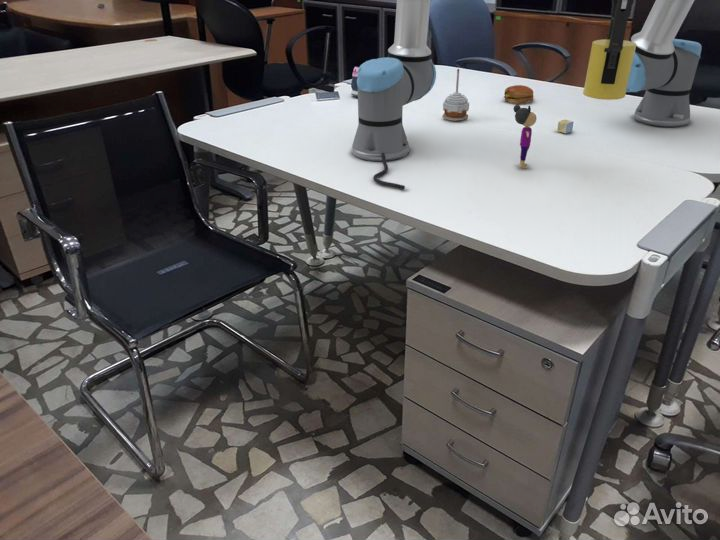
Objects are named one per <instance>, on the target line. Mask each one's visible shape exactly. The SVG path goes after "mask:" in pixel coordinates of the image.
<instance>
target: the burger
mask: <svg viewBox="0 0 720 540" xmlns="http://www.w3.org/2000/svg"><path fill="white" fill-rule="evenodd" d="M503 98H504V100H505V101H507V103H509V104H514V105H515V104H516V105H521V104H525V103H531V102H534V90H533V89H532V88H531V87H530V86H527V85H523V84H520V85H519V84H517V85H511V86H510V85H509V86H508V87H506V88H505V89H504V96H503Z"/></svg>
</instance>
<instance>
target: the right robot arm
mask: <svg viewBox="0 0 720 540" xmlns="http://www.w3.org/2000/svg"><path fill="white" fill-rule="evenodd" d="M694 2H695V0H655V1H654V3H653V6H652V7H651V10H650V11H649V14H648V16H647V18H646V20H645V22H644V24H643V26H642V28H641V30H640V31H639V32H636V33H634V34H633V35H632V36H631V37H630V39H629V41H631V42H634V43H636V48H635V53H634V58H633V62H632V67H631V71H630V76H629V80H628V85H627V89H626V93H638V92H641V91H645V90H646V91H645V93H644V95H643V97H642V98H641V100H640V102H639V104H638V105H637V107H636V108H635V111H634V114H633V119H634V120H635V121H637V122H639V123H642V124H645V125H648V126H649V125H650V126H654V127H662V128H663V127H664V128H675V127H684V126H687V125H689V123H690V121H691V120H690V119H691V106H690V104H691V103H690V94H691V90H692V86H693V83H694V80H695V76H696V72H697V68H698V66H699V61H700V59H701V53H702V50H703V49H702V47H703V46H702V44H701V43H700V42H698V41H692V40H688V39H687V40H686V39H681V38H680V39H679V38H676V37H677V34H678V32H679V31H680V28H681V27H682V25H683V23H684V21H685V19H686V18H687V15H688V13H689V12H690V10H691V8H692V6H693V4H694Z"/></svg>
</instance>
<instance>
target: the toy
mask: <svg viewBox="0 0 720 540" xmlns="http://www.w3.org/2000/svg"><path fill="white" fill-rule="evenodd" d="M512 110H513V113H514V119H515V121H516V123H517V124H519V125H522V126H523V128H522V129H521V133H520V139H519V140H520V141H519V146H520V156H519V158H520V160H519V167H520V169H528V163H526V160H527V155H528V151H529V149H530V147H531V142H532V134H533V130H532V126H534V125H535V124H536V123H537V115H536V113H534V112H532V108H531V105H528V106H527V107H521V106H520V104H516V105H515V104H514V106H513V109H512Z"/></svg>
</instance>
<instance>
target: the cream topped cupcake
mask: <svg viewBox="0 0 720 540" xmlns="http://www.w3.org/2000/svg"><path fill="white" fill-rule="evenodd" d="M459 81H460V68H457V69H456V84H455V85H456V86H455V92H453V93H450V94H449V95H447V97H445V99H444V100H443V103H442V110H443V111H444V113H443V114H442V118H443V119H445V120H449V121H456V122H458V121H463V120H466V119H469V114H468V112H469V109H470V102H469V99H468V98H467V96H465V94H462V93H461V92H459V83H460V82H459Z"/></svg>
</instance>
